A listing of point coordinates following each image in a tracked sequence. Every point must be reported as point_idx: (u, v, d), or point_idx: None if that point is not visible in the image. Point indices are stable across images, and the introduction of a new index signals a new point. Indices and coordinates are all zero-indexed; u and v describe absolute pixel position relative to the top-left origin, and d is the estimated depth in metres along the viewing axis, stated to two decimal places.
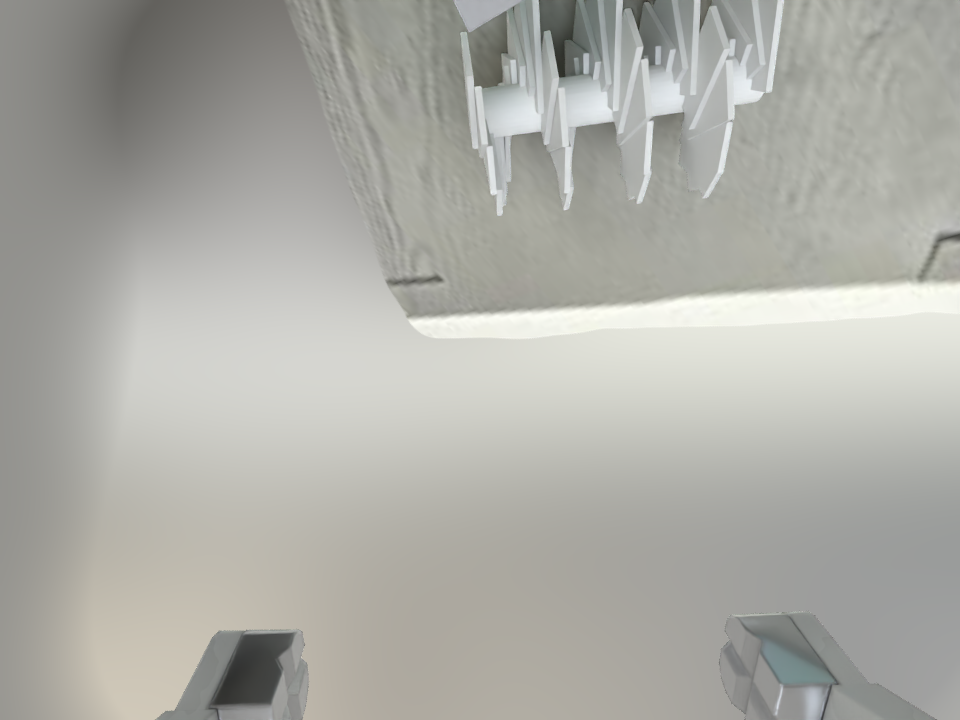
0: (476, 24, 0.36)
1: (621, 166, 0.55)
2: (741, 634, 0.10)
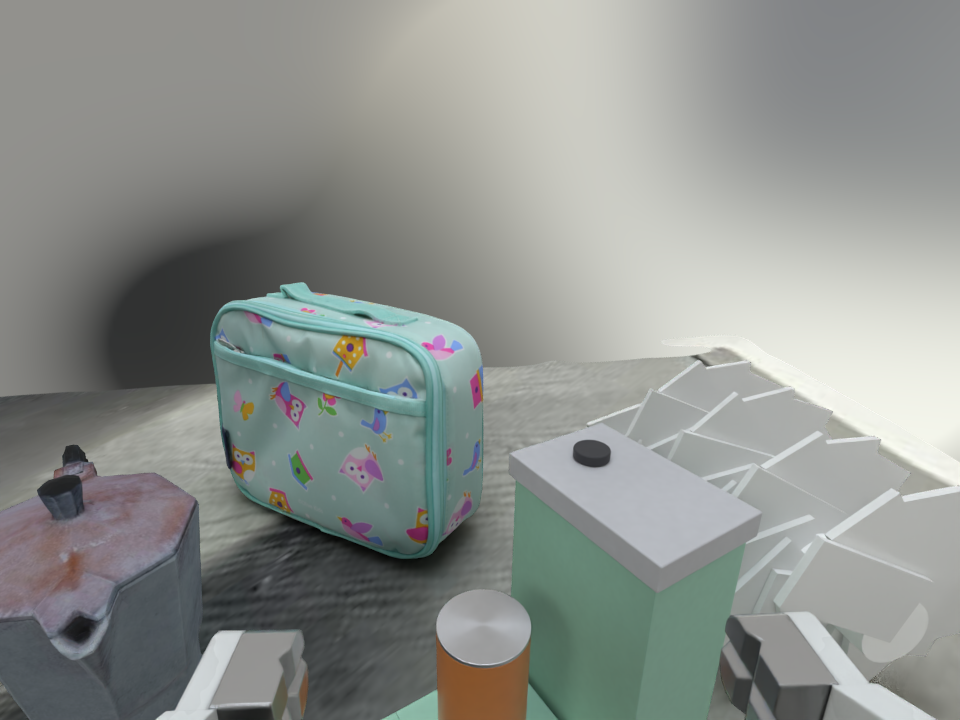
0: (747, 506, 0.26)
1: None
2: (741, 634, 0.10)
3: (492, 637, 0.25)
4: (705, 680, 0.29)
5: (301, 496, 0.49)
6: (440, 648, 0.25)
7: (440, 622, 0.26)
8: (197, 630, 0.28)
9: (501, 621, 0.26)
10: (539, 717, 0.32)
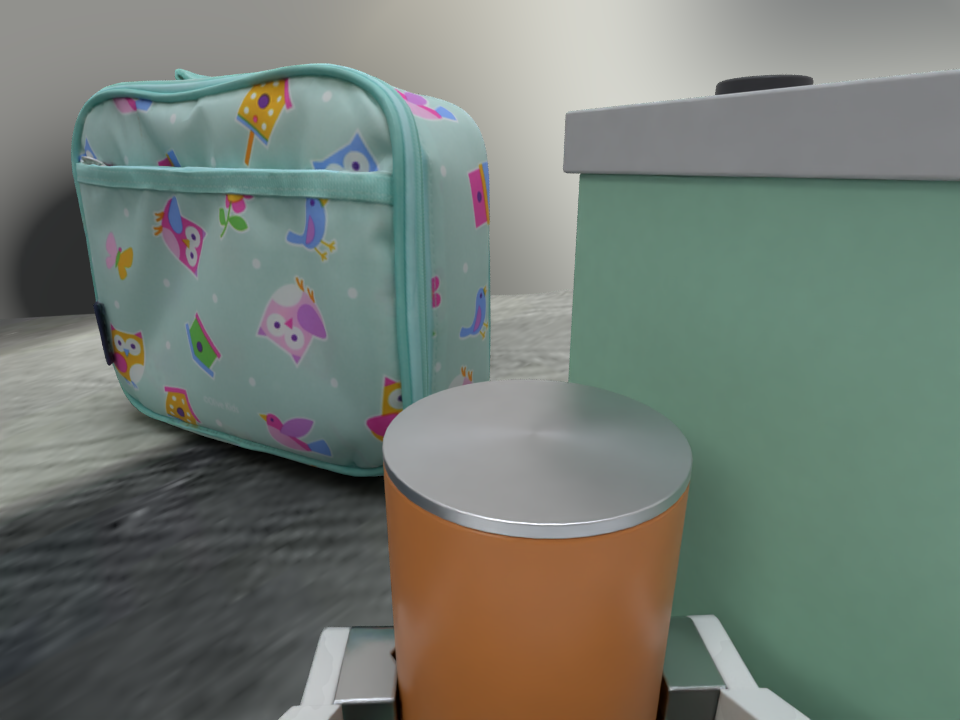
0: None
1: None
2: None
3: (569, 458, 0.07)
4: None
5: (207, 390, 0.31)
6: (394, 496, 0.07)
7: (397, 432, 0.08)
8: None
9: (587, 429, 0.08)
10: None
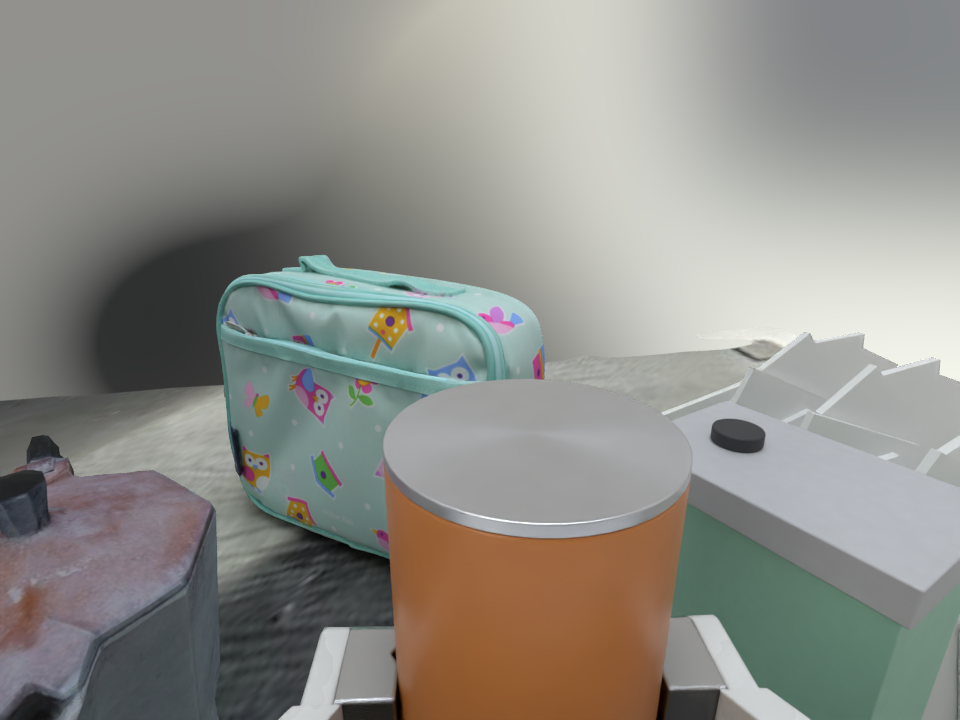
0: None
1: None
2: None
3: (569, 458, 0.07)
4: None
5: (327, 506, 0.41)
6: (394, 496, 0.07)
7: (398, 432, 0.08)
8: (214, 689, 0.20)
9: (587, 429, 0.08)
10: None
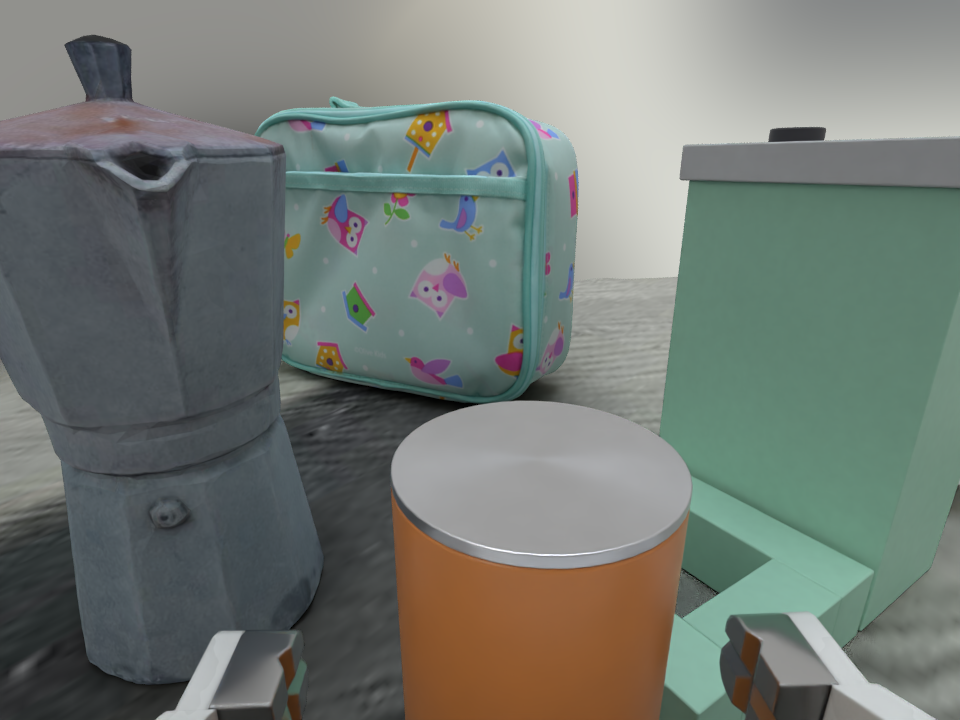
0: None
1: None
2: (741, 634, 0.10)
3: (572, 485, 0.08)
4: None
5: (359, 342, 0.41)
6: (402, 523, 0.08)
7: (404, 458, 0.08)
8: (280, 352, 0.20)
9: (590, 454, 0.09)
10: (726, 505, 0.24)
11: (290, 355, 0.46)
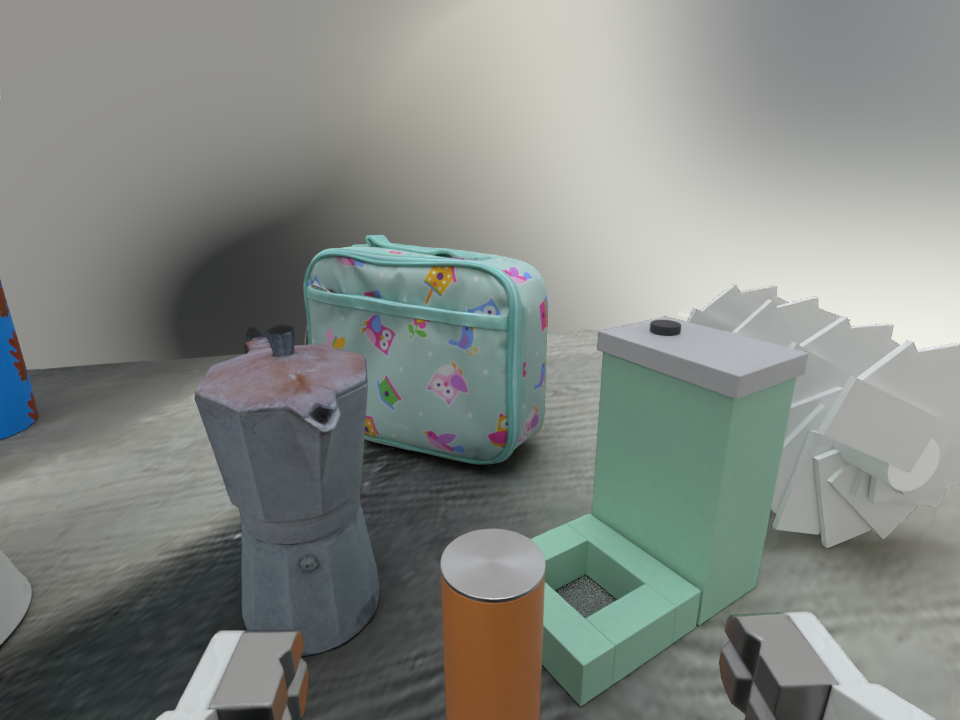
0: (796, 350, 0.34)
1: None
2: (741, 634, 0.10)
3: (503, 572, 0.23)
4: (764, 503, 0.36)
5: (388, 417, 0.56)
6: (445, 586, 0.23)
7: (445, 560, 0.23)
8: None
9: (512, 558, 0.24)
10: (627, 549, 0.39)
11: None
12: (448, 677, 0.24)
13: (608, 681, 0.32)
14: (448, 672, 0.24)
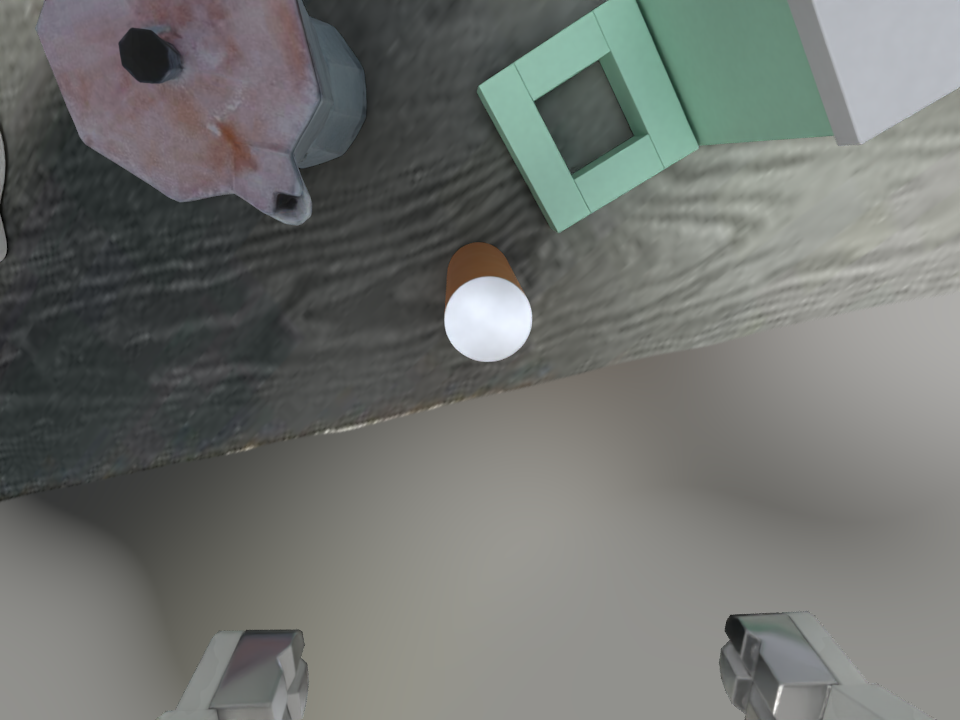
0: None
1: None
2: (741, 634, 0.10)
3: (495, 334, 0.28)
4: None
5: None
6: None
7: (448, 318, 0.28)
8: (322, 58, 0.26)
9: (504, 318, 0.28)
10: (651, 72, 0.33)
11: None
12: None
13: None
14: None
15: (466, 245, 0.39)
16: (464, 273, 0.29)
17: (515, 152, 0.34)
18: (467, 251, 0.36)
